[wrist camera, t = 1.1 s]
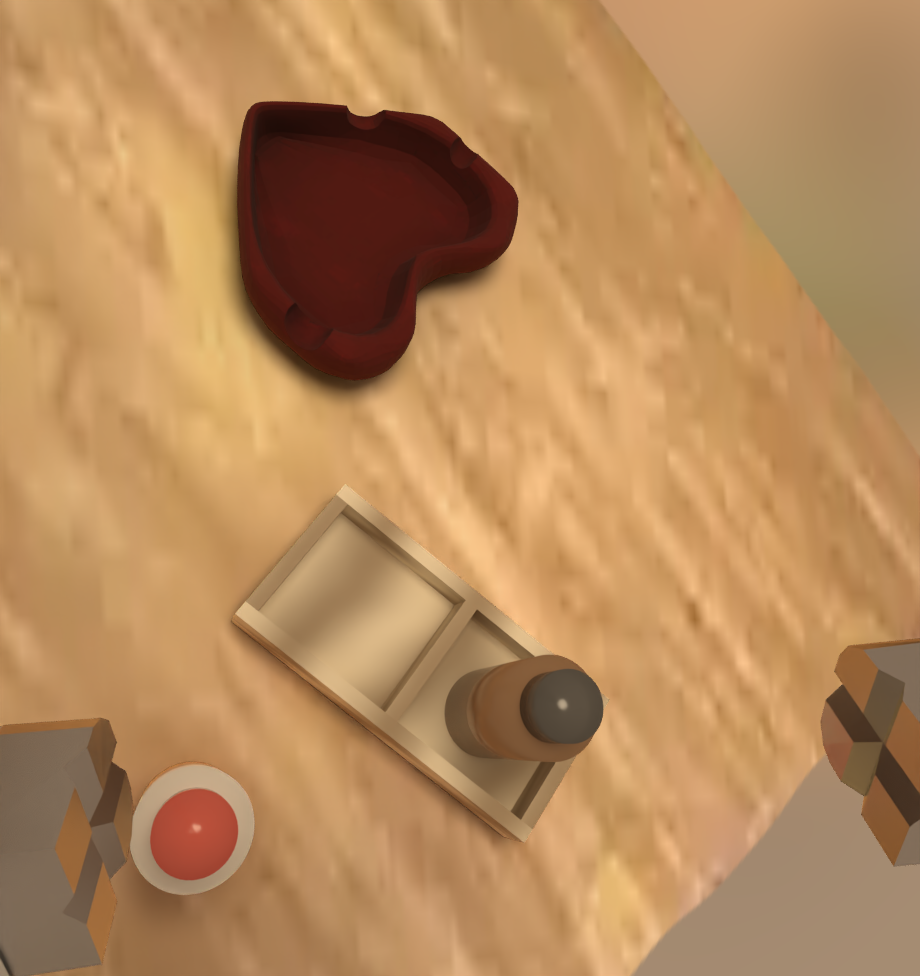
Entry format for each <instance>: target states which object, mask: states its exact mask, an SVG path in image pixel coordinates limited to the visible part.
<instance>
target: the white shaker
mask: <svg viewBox="0 0 920 976" xmlns="http://www.w3.org/2000/svg"><path fill="white" fill-rule="evenodd" d="M254 827H255V821H254V812H253V808H252V804H251V801H250V799H249V797H248V795H247V793H246V792H245V790H244V789H243V787H242V786H241V785H240V784H239V783H238V782H237V781H236V780H235V779H234V778H232V777H231V776H229V775H228V774H226V773H224V772H223V771H221V770H219V769H217V768H216V767H213V766H211V765H209V764H206V763H201V762H184V763H180V764H176V765H174V766H171V767H169V768H167V769H165V770H164V771H162V772H161V773H160V774H158V775H157V776H156V777H155V778H154V779H153V780H152V781H151V782H150V783H149V785H148V786H147V788H146V789H145V791H144V793H143V794H142V797H141V799H140V801H139V803H138V806H137V808H136V810H135V813H134V815H133V821H132V837H131V842H130V850H131V854H132V858H133V860H134V863H135V865H136V867H137V868H138V870H139V872H140V873H141V874H142V875H143V877H144V878H145V879H146V880H147V881H148V882H149V883H151V884H152V885H154V886H155V887H157V888H158V889H160V890H163V891H165V892H168V893H172V894H178V895H192V894H199V893H202V892H206V891H208V890H211V889H213V888H215V887H217V886H218V885H220V884H222V883H223V882H225V881H226V880H227V879H229V878H230V877H231V876H232V875H233V874H234V873H235V872H236V871H237V869H238V868H239V867H240V866H241V864H242V863H243V861H244V860H245V858H246V856H247V854H248V852H249V849H250V847H251V844H252V840H253V836H254Z"/></svg>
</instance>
